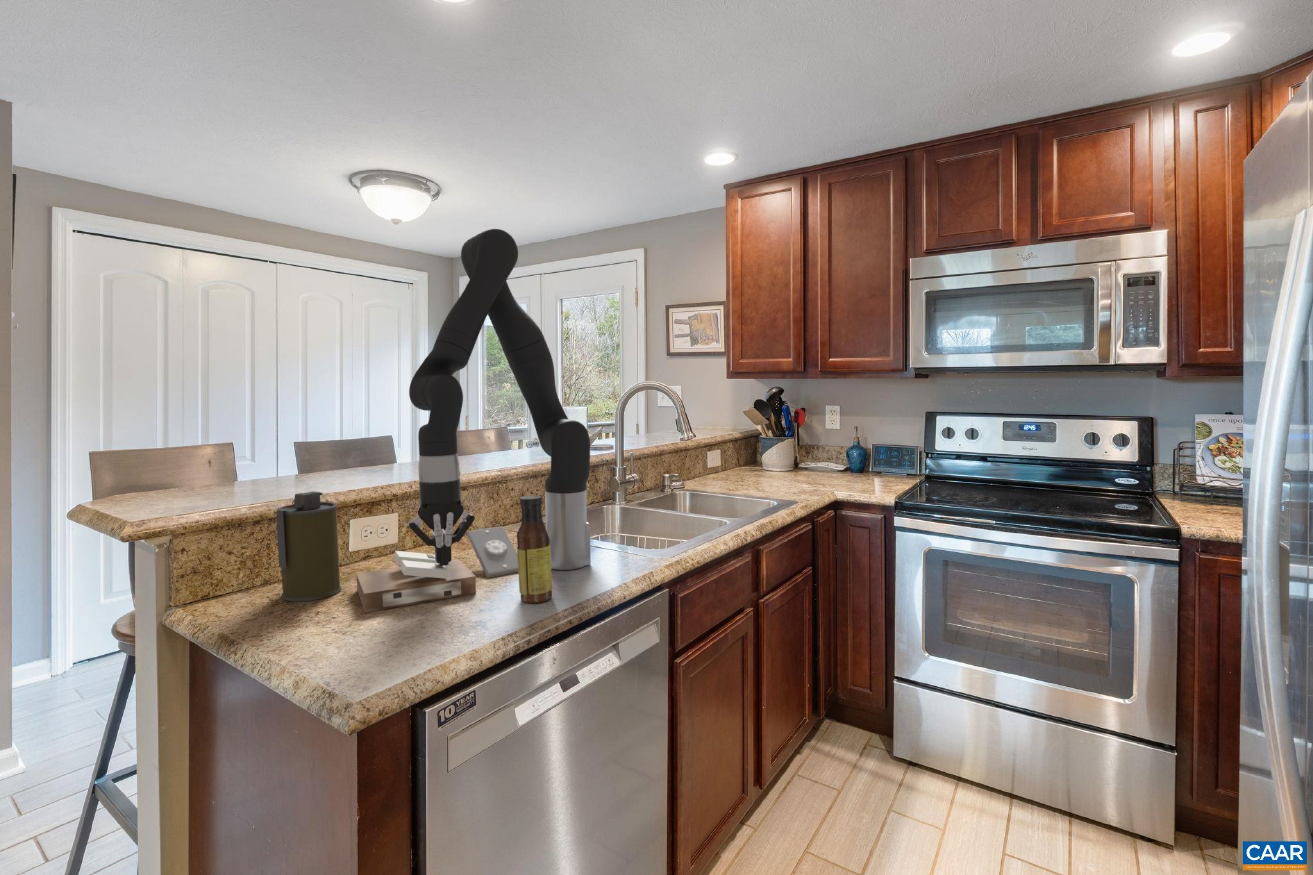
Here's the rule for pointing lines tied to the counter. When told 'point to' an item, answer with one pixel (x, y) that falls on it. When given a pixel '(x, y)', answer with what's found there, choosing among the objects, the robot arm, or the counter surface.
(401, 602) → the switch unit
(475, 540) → the light switch
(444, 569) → the rocker
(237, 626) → the counter surface
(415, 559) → the rocker
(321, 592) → the canister
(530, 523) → the sauce bottle
